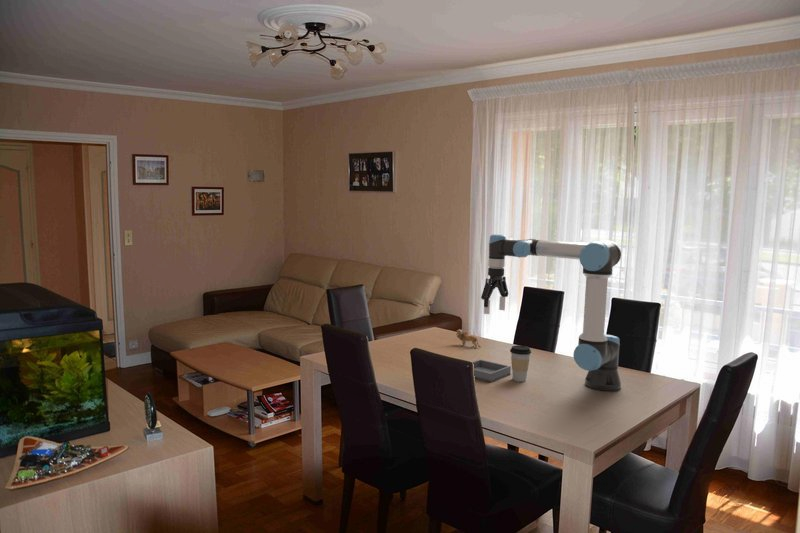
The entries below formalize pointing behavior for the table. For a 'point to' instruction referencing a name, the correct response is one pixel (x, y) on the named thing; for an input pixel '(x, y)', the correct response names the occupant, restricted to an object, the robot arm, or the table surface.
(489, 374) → the bin
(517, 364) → the coffee cup
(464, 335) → the lion figurine
